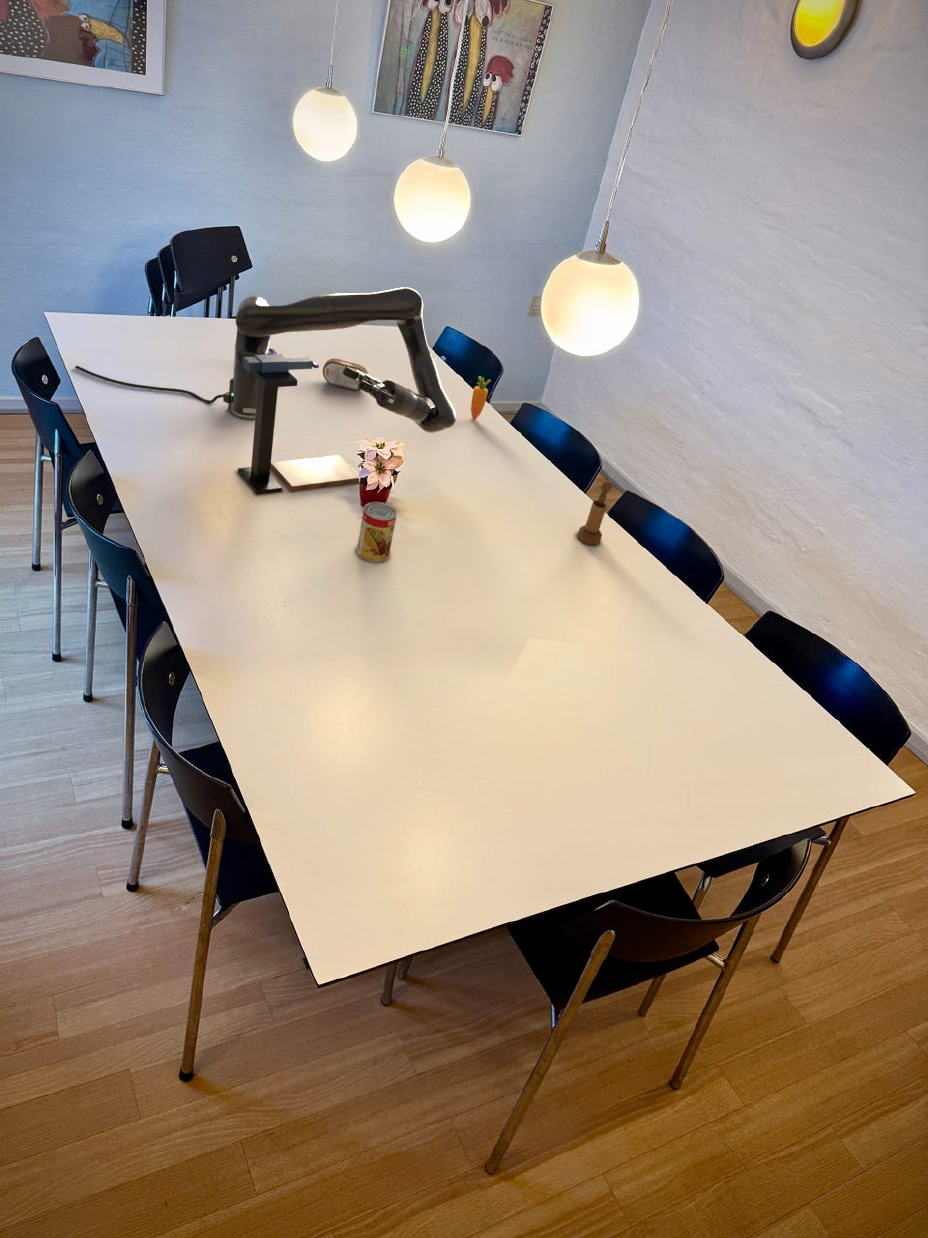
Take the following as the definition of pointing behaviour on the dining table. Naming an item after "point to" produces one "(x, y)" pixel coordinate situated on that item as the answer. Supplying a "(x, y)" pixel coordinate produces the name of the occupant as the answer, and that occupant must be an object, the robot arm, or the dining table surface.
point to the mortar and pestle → (595, 518)
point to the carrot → (479, 398)
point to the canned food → (376, 531)
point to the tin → (341, 373)
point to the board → (315, 472)
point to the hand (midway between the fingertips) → (352, 377)
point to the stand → (265, 431)
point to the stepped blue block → (277, 363)
